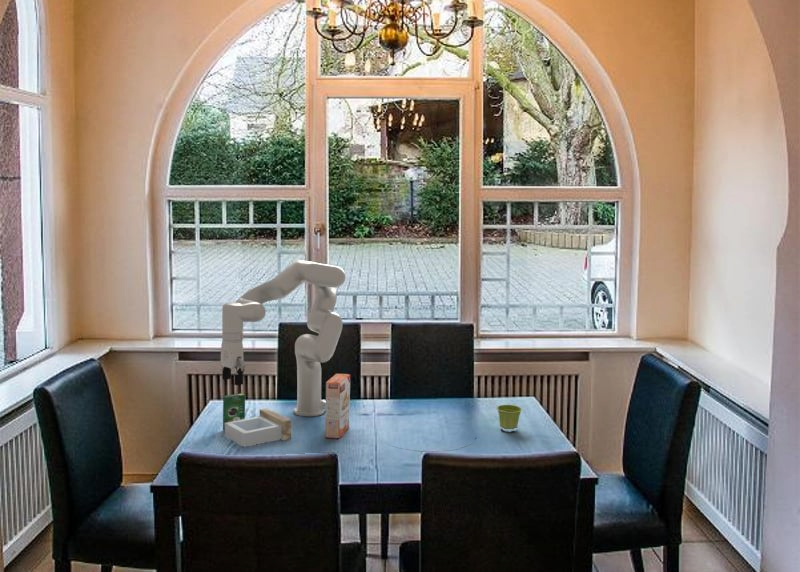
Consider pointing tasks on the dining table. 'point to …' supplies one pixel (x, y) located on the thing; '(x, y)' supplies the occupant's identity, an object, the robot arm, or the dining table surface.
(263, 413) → the wall
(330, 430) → the cracker box
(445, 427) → the dining table surface
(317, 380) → the robot arm
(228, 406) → the coffee box
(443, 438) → the dining table surface
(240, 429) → the open-top box
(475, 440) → the dining table surface
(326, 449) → the dining table surface
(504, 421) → the plant pot
